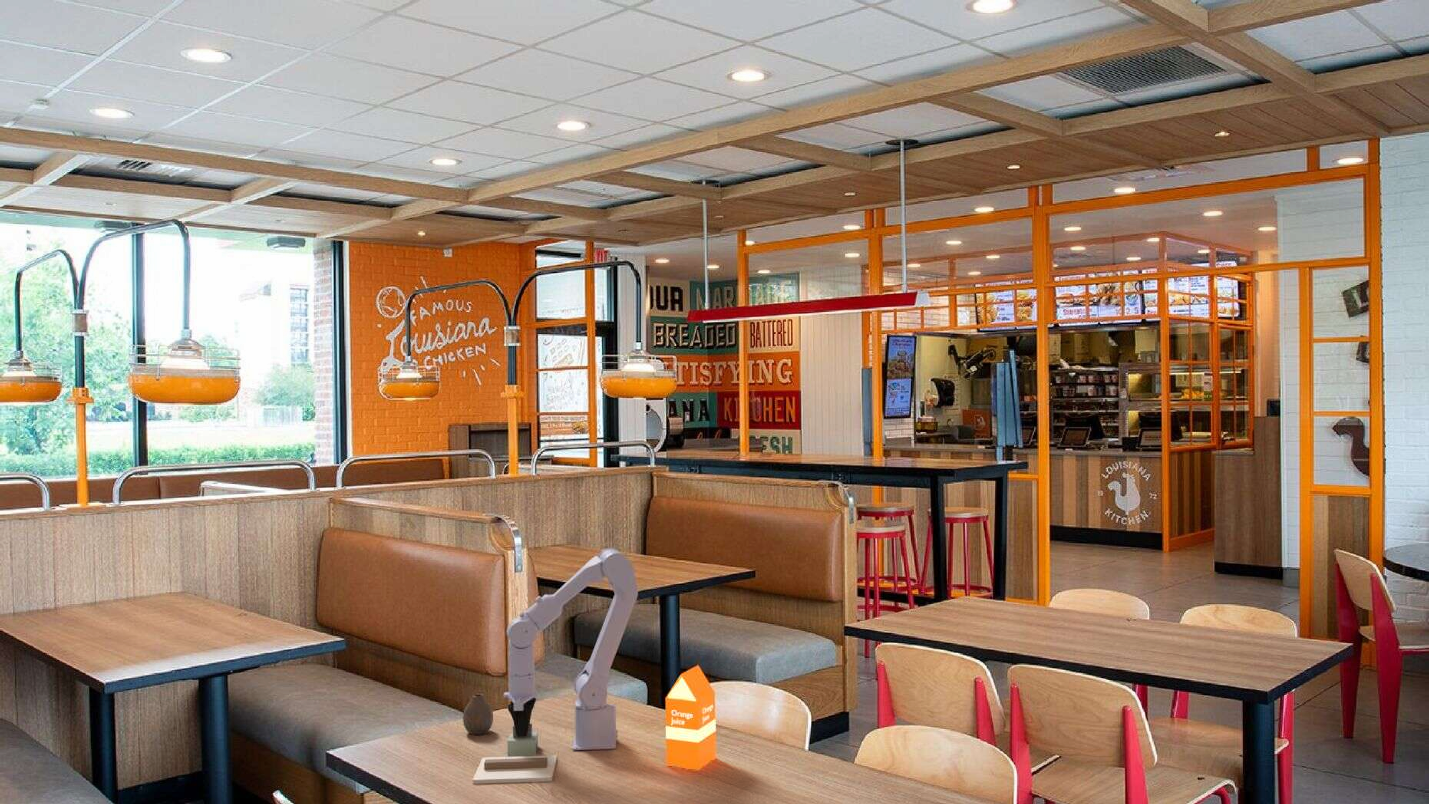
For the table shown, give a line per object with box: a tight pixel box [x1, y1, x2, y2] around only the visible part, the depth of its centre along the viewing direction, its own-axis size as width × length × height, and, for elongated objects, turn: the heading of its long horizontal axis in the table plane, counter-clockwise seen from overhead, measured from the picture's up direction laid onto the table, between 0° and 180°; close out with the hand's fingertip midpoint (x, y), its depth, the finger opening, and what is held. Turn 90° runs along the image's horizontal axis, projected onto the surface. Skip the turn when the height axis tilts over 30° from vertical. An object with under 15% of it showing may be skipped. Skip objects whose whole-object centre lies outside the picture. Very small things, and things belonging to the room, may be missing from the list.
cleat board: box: [472, 754, 558, 785], centre depth 242 cm, size 16×14×2 cm
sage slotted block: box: [506, 723, 539, 757], centre depth 255 cm, size 6×6×6 cm
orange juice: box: [665, 664, 717, 771], centre depth 246 cm, size 8×9×20 cm
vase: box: [462, 693, 494, 736], centre depth 270 cm, size 7×7×9 cm
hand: (522, 734), depth 255 cm, fingers open, 2 cm apart
